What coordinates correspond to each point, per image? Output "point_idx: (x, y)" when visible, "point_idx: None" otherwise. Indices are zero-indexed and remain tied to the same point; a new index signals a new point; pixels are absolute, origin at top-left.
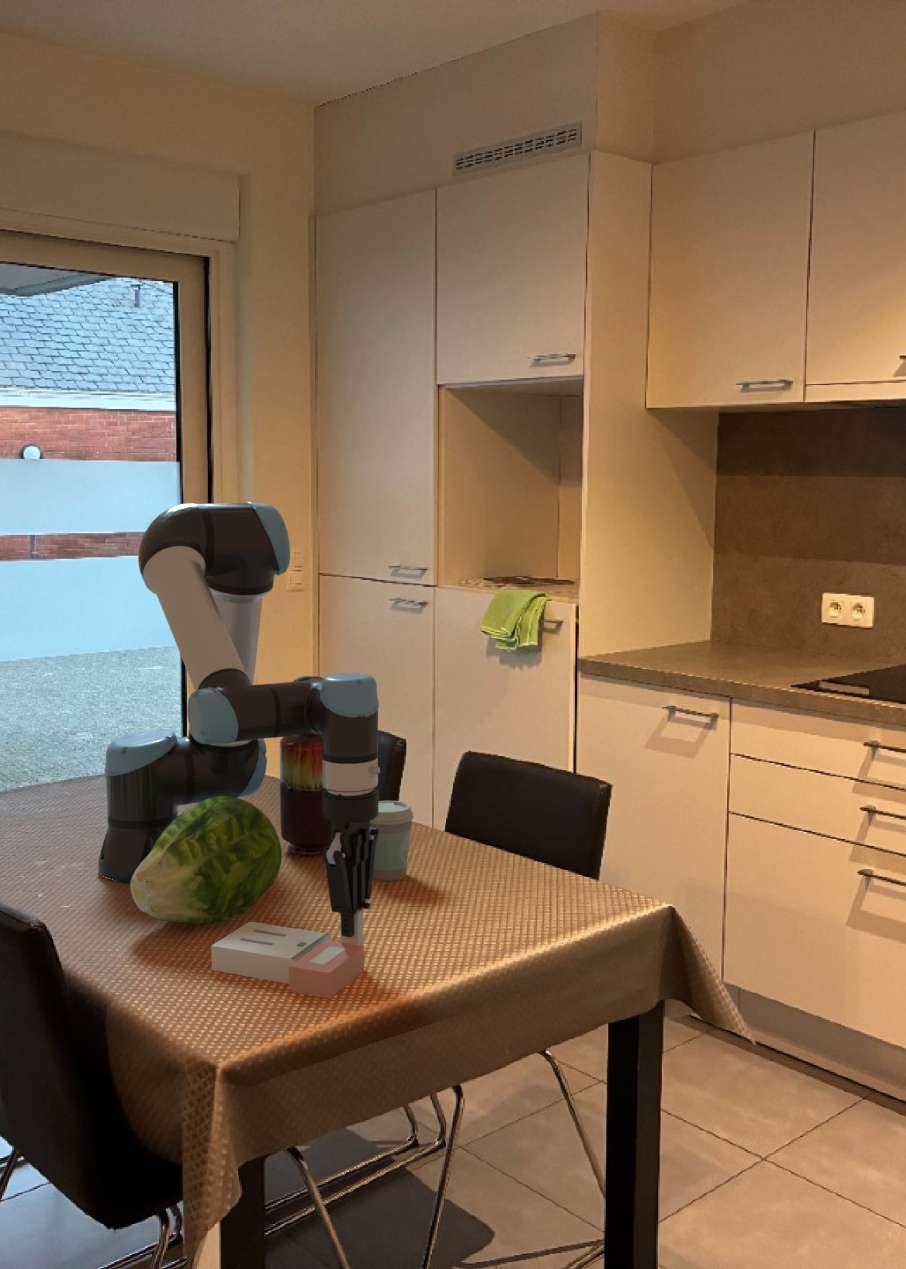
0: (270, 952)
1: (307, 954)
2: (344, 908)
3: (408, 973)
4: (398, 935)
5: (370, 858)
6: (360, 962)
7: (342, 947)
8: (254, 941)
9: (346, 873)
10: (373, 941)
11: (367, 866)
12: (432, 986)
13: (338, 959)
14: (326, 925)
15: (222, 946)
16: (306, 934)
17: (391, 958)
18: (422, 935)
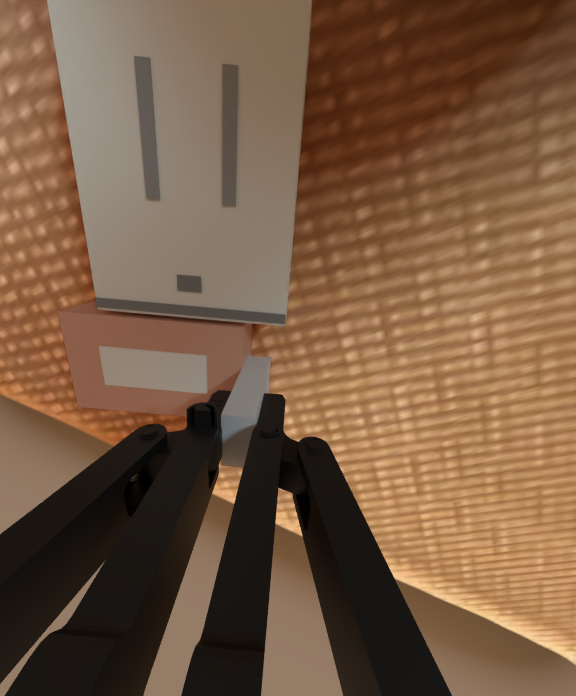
0: (103, 222)
1: (140, 324)
2: (131, 480)
3: None
4: (443, 394)
5: (342, 683)
6: None
7: (214, 383)
8: (142, 126)
9: (10, 665)
10: (401, 360)
11: (327, 614)
12: (232, 498)
13: (149, 398)
14: (494, 213)
15: (56, 19)
16: (260, 264)
17: (322, 416)
18: (449, 433)
